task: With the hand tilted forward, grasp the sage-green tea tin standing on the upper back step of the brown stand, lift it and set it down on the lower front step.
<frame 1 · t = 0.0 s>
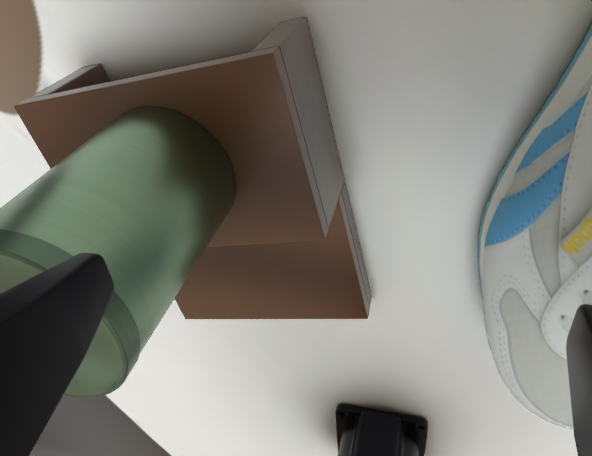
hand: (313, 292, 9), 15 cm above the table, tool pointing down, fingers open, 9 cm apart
brown stand: (238, 191, 27), on the table
tea tin: (169, 173, 21), point 5 cm above the table, touching brown stand
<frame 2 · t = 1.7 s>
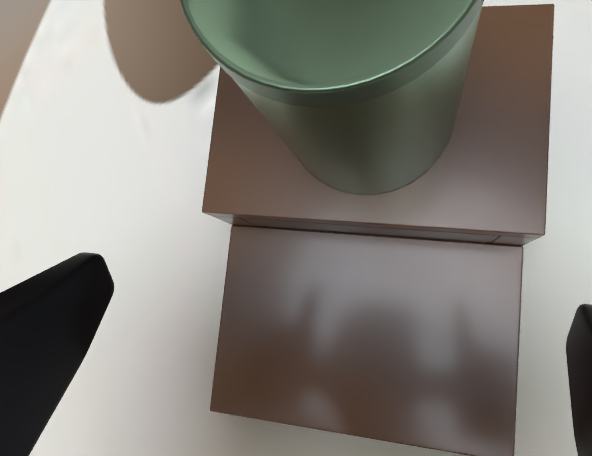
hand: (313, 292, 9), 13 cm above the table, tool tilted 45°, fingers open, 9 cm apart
brown stand: (370, 239, 22), on the table
tea tin: (368, 113, 18), point 5 cm above the table, touching brown stand
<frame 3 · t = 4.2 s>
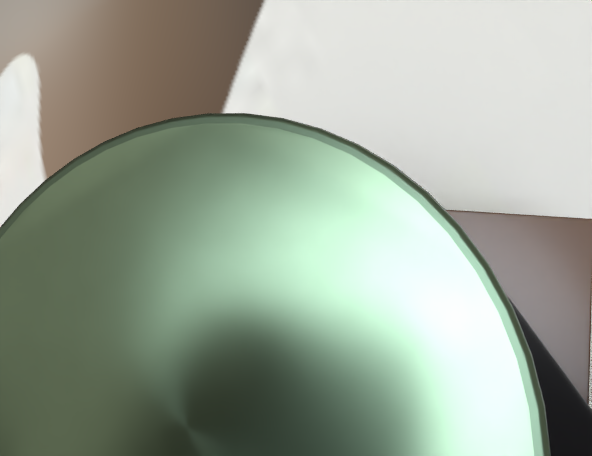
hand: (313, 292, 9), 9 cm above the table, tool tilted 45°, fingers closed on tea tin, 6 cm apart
brown stand: (349, 454, 17), on the table
tea tin: (338, 350, 13), point 5 cm above the table, touching gripper, brown stand
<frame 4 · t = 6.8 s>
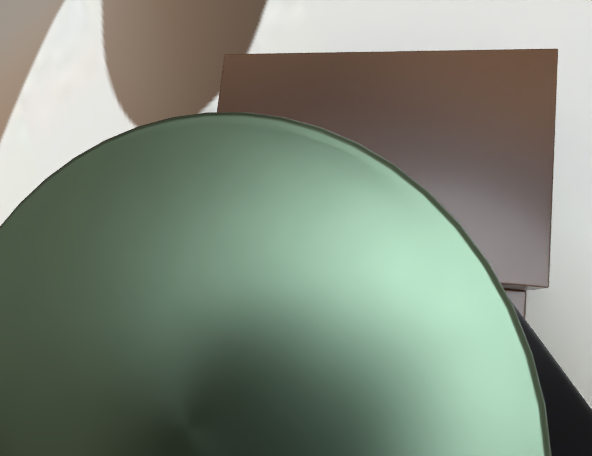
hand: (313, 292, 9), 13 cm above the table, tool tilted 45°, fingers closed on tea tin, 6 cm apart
brown stand: (370, 277, 22), on the table
tea tin: (338, 349, 13), point 9 cm above the table, touching gripper
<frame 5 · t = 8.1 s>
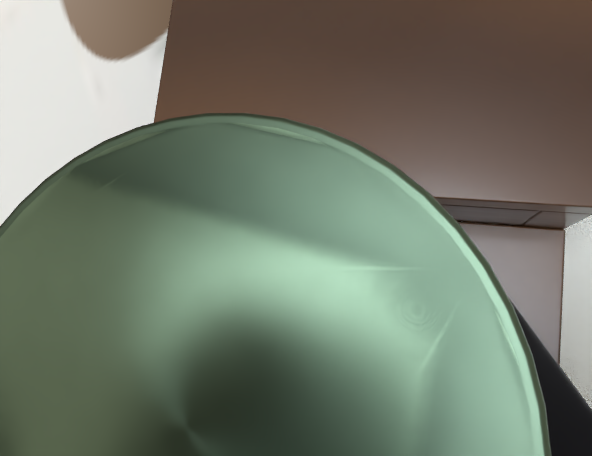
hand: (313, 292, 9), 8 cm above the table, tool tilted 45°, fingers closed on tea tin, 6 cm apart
brown stand: (366, 223, 18), on the table
tea tin: (338, 350, 13), point 4 cm above the table, touching gripper
when the fingers open (6 cm above the table, at t = 9.3 s): tea tin stays where it is, resting on brown stand.
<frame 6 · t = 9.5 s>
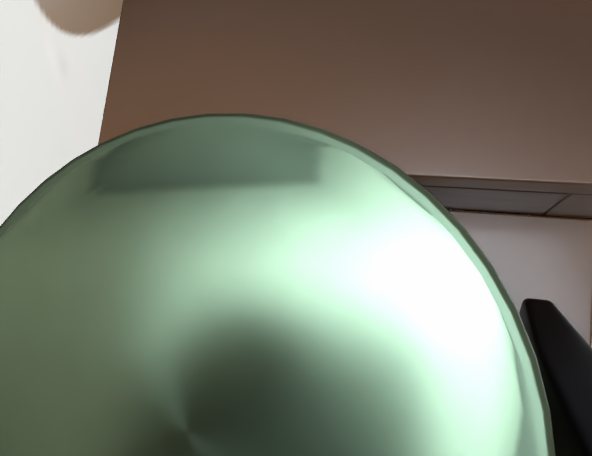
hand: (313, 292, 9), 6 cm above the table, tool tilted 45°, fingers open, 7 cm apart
brown stand: (361, 214, 15), on the table
tea tin: (338, 350, 13), point 2 cm above the table, touching brown stand
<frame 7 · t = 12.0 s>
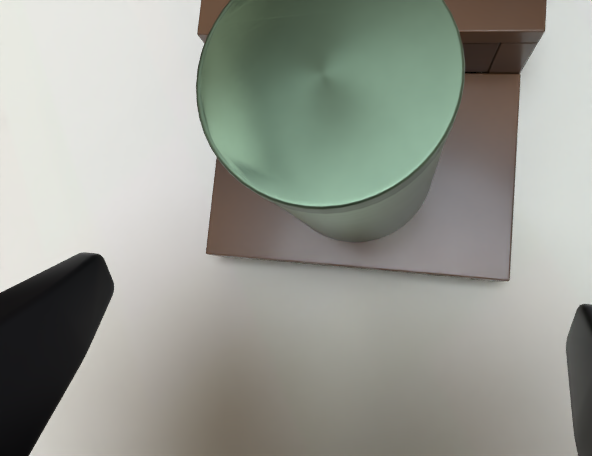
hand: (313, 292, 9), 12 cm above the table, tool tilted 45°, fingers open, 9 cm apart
brown stand: (366, 89, 22), on the table
tea tin: (355, 168, 20), point 2 cm above the table, touching brown stand
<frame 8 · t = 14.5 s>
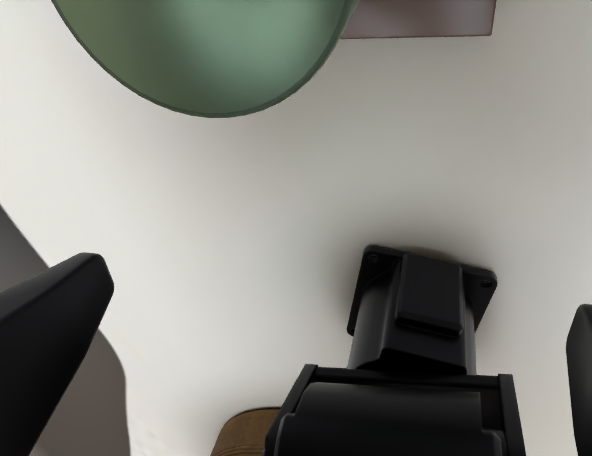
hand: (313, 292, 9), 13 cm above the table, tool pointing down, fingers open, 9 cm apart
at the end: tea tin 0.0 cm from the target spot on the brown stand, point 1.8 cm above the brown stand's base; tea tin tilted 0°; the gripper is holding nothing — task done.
